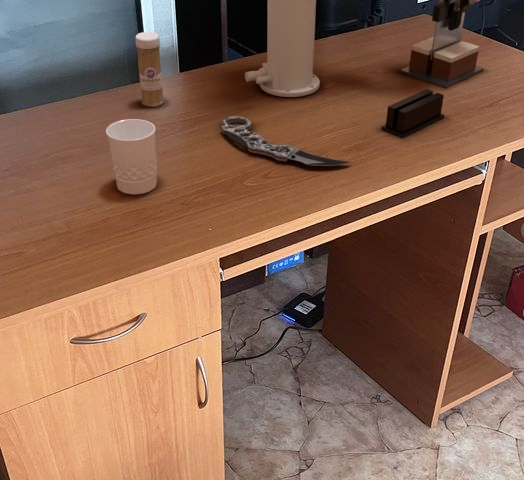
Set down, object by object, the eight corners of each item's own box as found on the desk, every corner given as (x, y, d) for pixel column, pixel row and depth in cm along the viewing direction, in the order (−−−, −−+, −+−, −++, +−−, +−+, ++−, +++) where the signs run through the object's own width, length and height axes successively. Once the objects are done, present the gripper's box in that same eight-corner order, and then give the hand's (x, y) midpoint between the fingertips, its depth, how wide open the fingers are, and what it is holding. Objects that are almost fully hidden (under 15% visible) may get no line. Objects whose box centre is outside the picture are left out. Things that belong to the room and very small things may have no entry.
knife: (352, 158, 137) (314, 174, 132) (351, 166, 138) (314, 183, 133) (240, 111, 153) (201, 124, 147) (240, 119, 154) (201, 132, 148)
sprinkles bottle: (145, 109, 156) (138, 40, 147) (139, 100, 159) (132, 32, 150) (167, 105, 157) (162, 37, 148) (160, 97, 160) (155, 29, 152)
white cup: (140, 201, 128) (134, 144, 122) (103, 188, 132) (95, 132, 125) (169, 181, 134) (165, 126, 127) (133, 169, 137) (127, 114, 130)
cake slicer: (432, 61, 166) (440, 7, 159) (426, 59, 167) (433, 5, 160) (463, 48, 172) (471, -5, 164) (456, 46, 172) (465, -7, 165)
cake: (445, 88, 165) (449, 61, 161) (399, 72, 171) (403, 46, 167) (483, 70, 172) (488, 44, 168) (438, 56, 179) (442, 31, 175)
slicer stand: (402, 138, 147) (405, 114, 144) (381, 129, 149) (383, 106, 146) (444, 117, 154) (447, 95, 151) (422, 109, 156) (426, 87, 153)
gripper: (419, -73, 156) (408, 22, 168) (486, -58, 147) (469, 41, 159) (441, -79, 160) (429, 14, 172) (508, -65, 151) (490, 32, 163)
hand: (449, 27), depth 165 cm, fingers closed on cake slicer, 1 cm apart
